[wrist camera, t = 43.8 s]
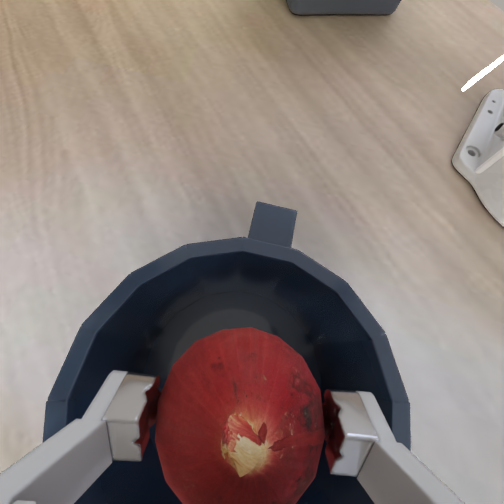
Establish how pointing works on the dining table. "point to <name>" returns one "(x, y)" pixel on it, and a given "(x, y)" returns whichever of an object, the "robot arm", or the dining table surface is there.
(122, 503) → the pot
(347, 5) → the storage bin
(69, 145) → the dining table surface
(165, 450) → the onion
